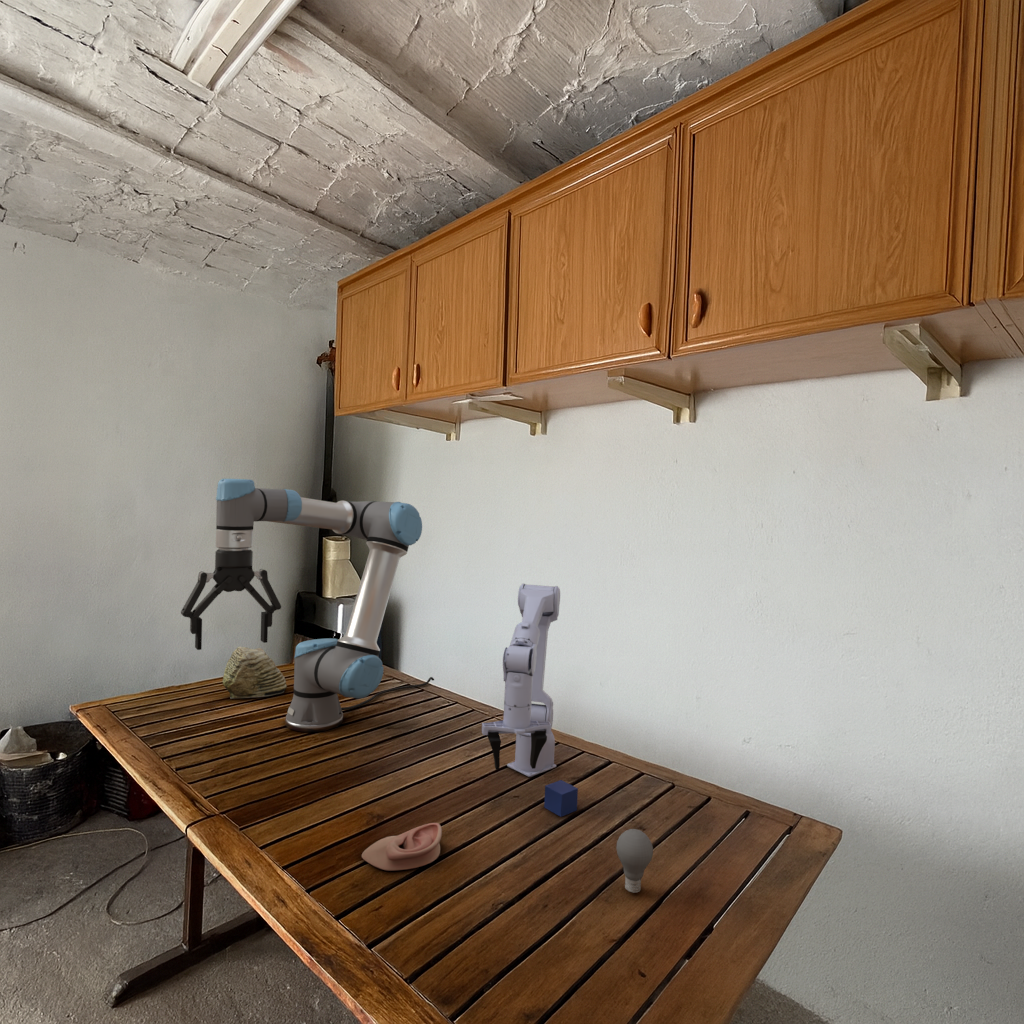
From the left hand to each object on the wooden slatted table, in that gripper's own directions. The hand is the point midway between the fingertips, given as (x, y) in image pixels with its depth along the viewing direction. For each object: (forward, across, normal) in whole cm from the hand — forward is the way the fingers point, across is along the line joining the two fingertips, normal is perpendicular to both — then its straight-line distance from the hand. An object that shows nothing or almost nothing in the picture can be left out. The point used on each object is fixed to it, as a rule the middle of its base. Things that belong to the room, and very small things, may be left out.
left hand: (232, 645), depth 140 cm
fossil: (+30, +20, +57) cm, 67 cm away
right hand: (+22, +46, -44) cm, 67 cm away
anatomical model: (+30, +18, -48) cm, 59 cm away
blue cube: (+30, +54, -50) cm, 80 cm away
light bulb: (+30, +46, -78) cm, 95 cm away
